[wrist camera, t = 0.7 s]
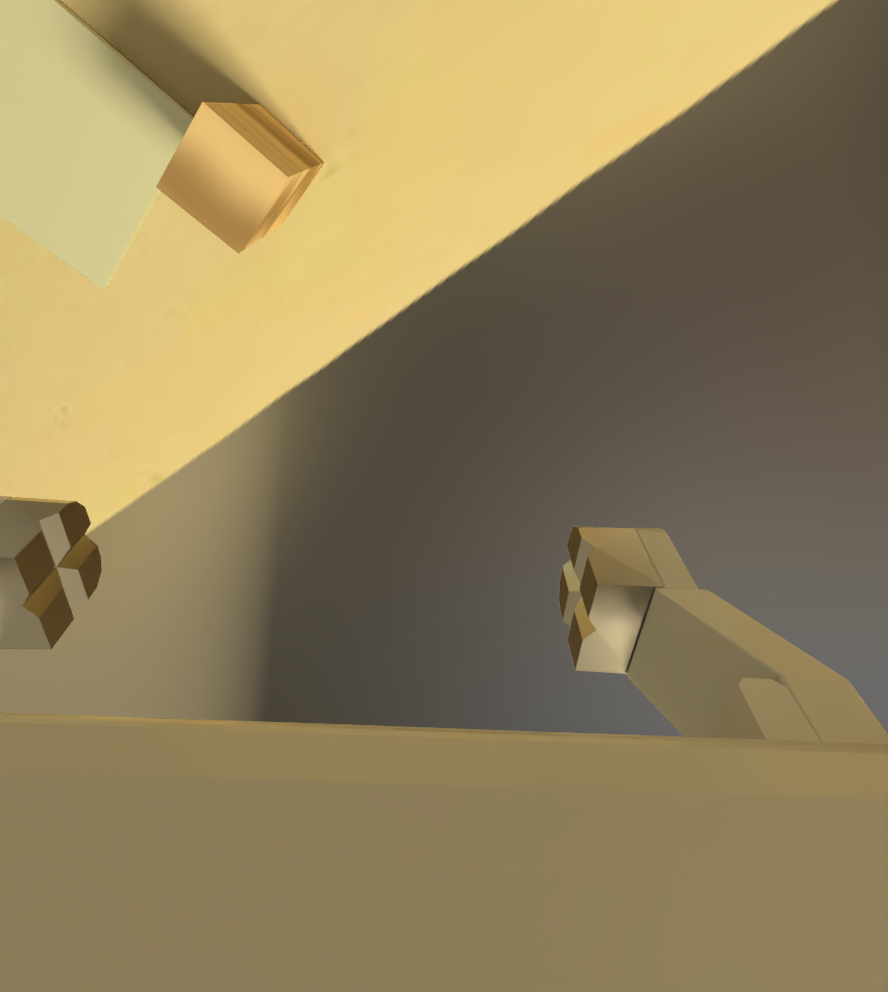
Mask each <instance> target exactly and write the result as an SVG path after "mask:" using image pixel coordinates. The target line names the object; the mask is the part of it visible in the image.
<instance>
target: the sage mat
mask: <svg viewBox="0 0 888 992" xmlns="http://www.w3.org/2000/svg"><path fill="white" fill-rule="evenodd" d="M193 118H194V117H193V116H192V115H191V114H189V113H188V112H187V111H186V110H185V109H184V108H183V107H181V106H180V105H179V104H178V103H177V102H176V101H174V100H173V99H172V98H171V97H170V96H169V95H168V94H166V93H165V92H164V91H163V90H162V89H161V88H160V87H158V86H157V85H156V84H155V83H154V82H153V81H151V80H150V79H149V78H148V77H147V76H146V75H145V74H143V73H142V72H141V71H140V70H139V69H138V68H136V67H135V66H134V65H133V64H132V63H131V62H130V61H128V60H127V59H126V58H125V57H124V56H123V55H122V54H120V53H119V52H118V51H117V50H116V49H115V48H113V47H112V46H111V45H110V44H109V43H108V42H107V41H105V40H104V39H103V38H102V37H101V36H100V35H99V34H97V33H96V32H95V31H94V30H93V29H92V28H90V27H89V26H88V25H87V24H86V23H85V22H84V21H82V20H81V19H80V18H79V17H78V16H77V15H75V14H74V13H73V12H72V11H71V10H70V9H69V8H67V7H66V6H65V5H64V4H63V3H62V2H61V1H59V0H0V217H2V218H3V219H4V220H6V221H7V222H9V223H10V224H11V225H13V226H14V227H16V228H17V229H18V230H20V231H21V232H23V233H24V234H25V235H27V236H28V237H30V238H31V239H32V240H34V241H35V242H37V243H38V244H40V245H41V246H42V247H44V248H45V249H47V250H48V251H49V252H51V253H52V254H54V255H55V256H56V257H58V258H59V259H61V260H62V261H63V262H65V263H66V264H68V265H69V266H70V267H72V268H73V269H75V270H76V271H77V272H79V273H80V274H82V275H83V276H84V277H86V278H87V279H89V280H90V281H92V282H93V283H94V284H96V285H97V286H99V287H100V288H101V289H105V288H107V287H108V286H109V284H110V283H111V281H112V279H113V277H114V275H115V274H116V272H117V270H118V268H119V266H120V265H121V263H122V261H123V259H124V257H125V256H126V254H127V252H128V250H129V248H130V247H131V245H132V243H133V241H134V239H135V238H136V236H137V234H138V232H139V230H140V229H141V227H142V225H143V223H144V221H145V220H146V218H147V216H148V214H149V212H150V211H151V209H152V207H153V205H154V203H155V202H156V200H157V198H158V196H159V194H160V193H161V191H160V190H159V189H158V188H156V186H157V184H158V182H159V180H160V178H161V177H162V175H163V173H164V171H165V169H166V168H167V166H168V164H169V162H170V160H171V158H172V157H173V155H174V153H175V151H176V149H177V148H178V146H179V144H180V142H181V140H182V138H183V137H184V135H185V133H186V131H187V129H188V127H189V126H190V124H191V122H192V120H193Z"/></svg>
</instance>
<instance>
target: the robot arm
mask: <svg viewBox="0 0 888 992" xmlns="http://www.w3.org/2000/svg"><path fill="white" fill-rule="evenodd" d="M90 524H91V523H90V520H89V517H88V514H87V511H86V509H85V507H84V506H83V505H81V504H80V503H78V502H77V501H63V500H49V499H35V498H20V497H15V498H13V497H4V496H0V649H52V648H53V646H54V645H55V644H56V642H57V641H58V640H59V638H60V637H61V636H62V634H63V633H64V632H65V630H66V629H67V628H68V626H69V625H70V624H71V622H72V621H73V620H74V618H73V614H72V610H71V609H73V608H74V607H76V606H78V605H80V604H82V603H83V602H85V601H87V600H88V599H89V598H90V597H91V595H92V594H93V592H94V591H95V589H96V588H97V585H98V581H99V578H100V574H101V556H100V553H99V549H98V546H97V544H95V543H94V542H93V541H92V540H91V539H90V538H89V537H88V536H86V535H85V533H86V531H87V529H88V528H89V526H90ZM567 548H568V552H569V555H570V559H571V560H570V561H569V562H568V563H567V564H565V565H564V566H563V567H562V572H561V578H560V586H559V588H560V589H559V603H560V611H561V615H562V619H563V621H564V622H565V623H566V624H568V625H569V626H570V631H569V636H568V644H569V648H570V651H571V655H572V659H573V663H574V667H575V670H579V671H594V672H609V673H624V674H627V677H628V678H629V679H630V680H631V681H632V682H633V683H634V684H635V686H636V687H637V688H638V689H639V690H640V691H641V692H642V693H643V694H644V695H645V696H646V697H647V698H648V699H649V700H650V701H651V702H652V704H653V705H654V706H655V707H656V708H657V709H658V710H659V711H660V712H661V713H662V714H663V715H664V716H665V717H666V718H667V720H668V721H670V723H671V724H672V725H673V726H674V727H675V728H676V729H677V730H678V731H679V732H680V733H681V734H682V735H683V736H684V737H677V736H650V735H649V736H648V735H619V734H617V735H616V734H588V733H557V732H556V733H555V732H529V731H501V730H475V729H448V728H421V727H394V726H368V725H341V724H313V723H284V722H252V721H225V720H197V719H167V718H137V717H110V716H81V715H53V714H52V715H51V714H24V713H0V992H888V734H887V733H886V731H885V730H884V729H883V727H882V726H881V724H880V723H879V722H878V720H877V719H876V718H875V716H874V715H873V714H872V712H871V711H870V710H869V708H868V707H867V705H866V704H865V703H864V701H863V700H862V699H861V697H860V696H859V695H858V693H857V692H856V690H855V689H854V688H853V686H852V685H851V683H850V682H849V681H848V680H847V679H845V678H843V677H842V676H841V675H839V674H837V673H836V672H834V671H833V670H831V669H830V668H828V667H827V666H825V665H823V664H822V663H820V662H819V661H817V660H816V659H814V658H813V657H811V656H809V655H808V654H806V653H805V652H803V651H801V650H800V649H799V648H797V647H795V646H794V645H792V644H791V643H789V642H788V641H786V640H785V639H783V638H781V637H780V636H778V635H777V634H775V633H774V632H772V631H771V630H769V629H767V628H766V627H764V626H763V625H761V624H760V623H758V622H756V621H755V620H753V619H752V618H750V617H749V616H747V615H746V614H744V613H742V612H741V611H739V610H738V609H736V608H734V607H733V606H731V605H730V604H728V603H727V602H725V601H724V600H722V599H721V598H719V597H717V596H716V595H714V594H713V593H711V592H710V591H708V590H699V589H698V588H697V586H696V585H695V583H694V581H693V579H692V577H691V575H690V574H689V572H688V570H687V568H686V567H685V565H684V564H683V561H682V560H681V558H680V556H679V554H678V553H677V551H676V549H675V547H674V545H673V544H672V542H671V540H670V538H669V537H668V535H667V533H666V532H665V531H664V530H662V529H660V528H601V527H600V528H599V527H573V528H572V530H571V532H570V535H569V540H568V544H567Z"/></svg>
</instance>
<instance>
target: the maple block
mask: <svg viewBox="0 0 888 992" xmlns="http://www.w3.org/2000/svg"><path fill="white" fill-rule="evenodd" d="M323 164H324V162H323V161H322V160H321V159H320V158H319V157H317V156H316V155H315V154H314V153H313V152H312V151H311V150H310V149H309V148H308V147H307V146H306V145H304V144H303V143H302V142H301V141H300V140H299V139H298V138H297V137H296V136H295V135H294V134H292V133H291V132H290V131H289V130H288V129H287V128H286V127H285V126H284V125H283V124H282V123H280V122H279V121H278V120H277V119H276V118H275V117H274V116H273V115H272V114H271V113H270V112H268V111H267V110H266V109H265V108H264V107H263V106H262V105H261V104H241V103H219V102H202V104H201V106H200V107H199V109H198V111H197V113H196V115H195V117H194V118H193V120H192V122H191V124H190V126H189V127H188V129H187V131H186V133H185V135H184V137H183V138H182V140H181V142H180V144H179V146H178V148H177V149H176V151H175V153H174V155H173V157H172V158H171V160H170V162H169V164H168V166H167V168H166V169H165V171H164V173H163V175H162V177H161V178H160V180H159V182H158V184H157V186H156V188H158V189H159V190H160V191H161V192H163V193H164V194H165V195H166V196H168V197H169V198H170V199H171V200H173V201H174V202H175V203H176V204H178V205H179V206H180V207H181V208H183V209H184V210H185V211H186V212H188V213H189V214H190V215H191V216H193V217H194V218H195V219H196V220H198V221H199V222H200V223H201V224H203V225H204V226H205V227H206V228H208V229H209V230H210V231H211V232H213V233H214V234H215V235H216V236H218V237H219V238H220V239H221V240H222V241H224V242H225V243H226V244H227V245H229V246H230V247H231V248H232V249H234V250H235V251H236V252H237V253H240V252H241V251H243V250H244V249H246V248H247V247H249V246H250V245H252V244H253V243H255V242H256V241H258V240H259V239H261V238H262V237H263V236H265V235H266V234H268V233H269V232H271V231H272V230H274V229H275V228H277V227H278V226H280V225H281V224H283V223H284V222H285V220H286V219H287V217H288V216H289V214H290V213H291V211H292V210H293V208H294V207H295V205H296V204H297V202H298V201H299V199H300V198H301V196H302V195H303V193H304V192H305V190H306V189H307V187H308V186H309V184H310V183H311V181H312V180H313V178H314V177H315V175H316V174H317V172H318V171H319V169H320V168H321V167H322V165H323Z"/></svg>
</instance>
